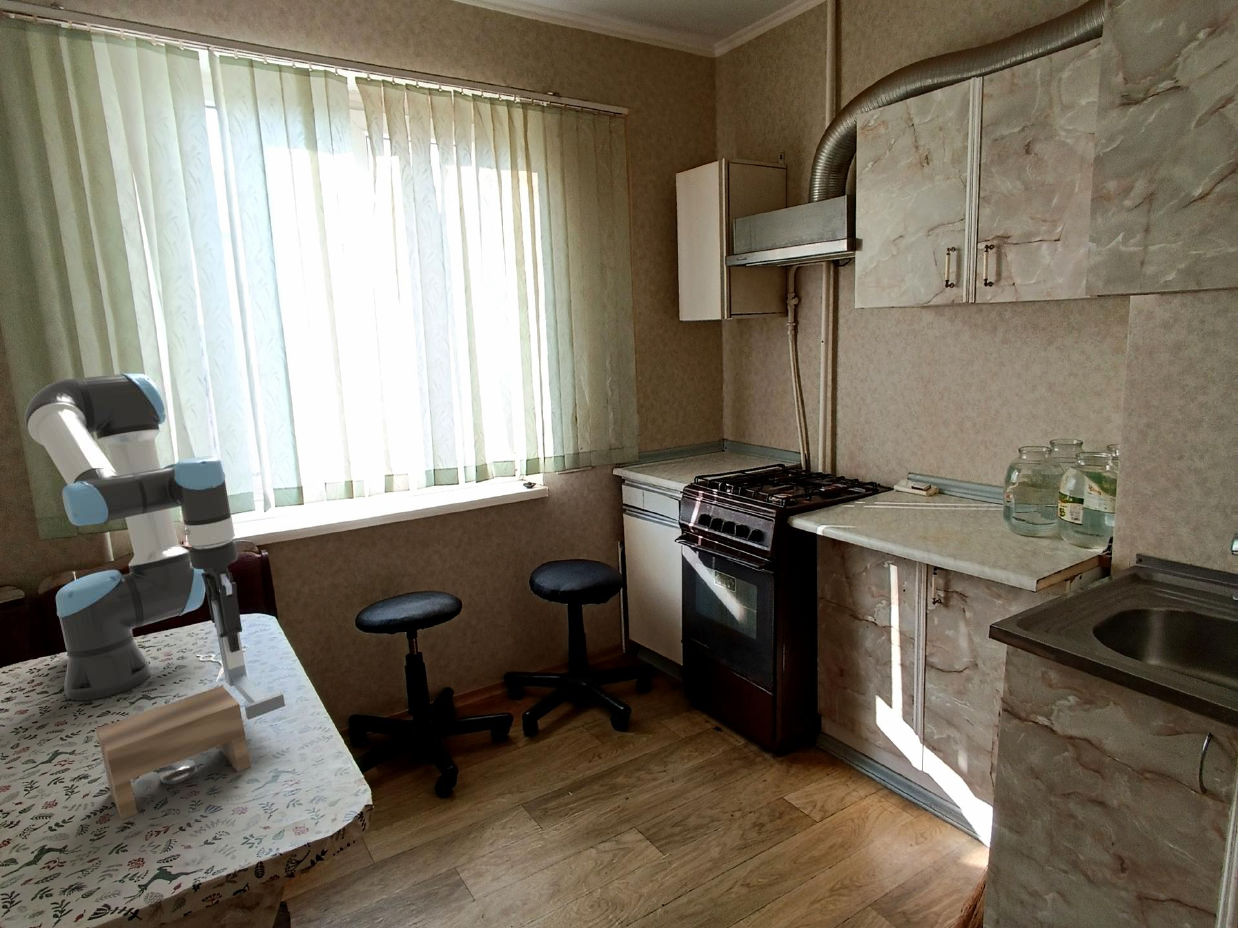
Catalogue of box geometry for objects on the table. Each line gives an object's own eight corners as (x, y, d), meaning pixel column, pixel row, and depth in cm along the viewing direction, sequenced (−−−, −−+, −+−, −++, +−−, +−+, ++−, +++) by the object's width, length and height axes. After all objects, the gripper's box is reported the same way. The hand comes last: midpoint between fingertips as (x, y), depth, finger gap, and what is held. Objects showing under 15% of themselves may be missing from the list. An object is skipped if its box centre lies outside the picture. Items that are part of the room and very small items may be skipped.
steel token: (158, 777, 123) (156, 769, 123) (192, 764, 126) (191, 756, 126) (165, 789, 119) (163, 781, 119) (200, 775, 122) (198, 767, 122)
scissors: (247, 642, 177) (254, 670, 160) (248, 645, 177) (255, 674, 160) (196, 654, 172) (197, 685, 155) (196, 658, 172) (198, 689, 155)
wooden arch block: (110, 792, 119) (96, 728, 117) (233, 744, 131) (221, 685, 129) (121, 819, 112) (106, 751, 110) (250, 766, 123) (239, 703, 121)
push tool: (217, 684, 141) (202, 603, 138) (251, 673, 145) (237, 593, 142) (248, 719, 127) (232, 630, 124) (285, 705, 131) (270, 618, 128)
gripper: (178, 540, 140) (200, 658, 145) (200, 556, 129) (224, 684, 133) (221, 530, 145) (242, 645, 150) (247, 545, 133) (268, 669, 138)
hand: (233, 663), depth 141 cm, fingers closed on push tool, 3 cm apart
